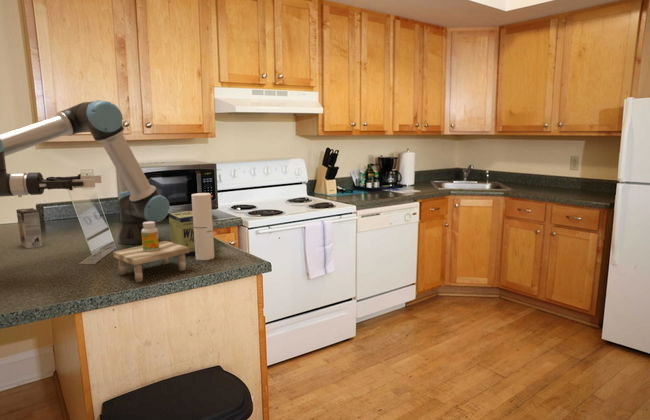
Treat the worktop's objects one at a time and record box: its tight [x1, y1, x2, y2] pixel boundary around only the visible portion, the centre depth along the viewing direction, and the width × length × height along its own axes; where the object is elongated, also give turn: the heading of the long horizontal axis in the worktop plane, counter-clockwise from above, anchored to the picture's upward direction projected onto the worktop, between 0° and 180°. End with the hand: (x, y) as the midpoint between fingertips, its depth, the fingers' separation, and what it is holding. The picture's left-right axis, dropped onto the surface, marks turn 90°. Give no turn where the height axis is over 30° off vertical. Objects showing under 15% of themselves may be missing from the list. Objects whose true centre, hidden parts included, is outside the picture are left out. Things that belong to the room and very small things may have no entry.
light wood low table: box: [112, 240, 189, 283], centre depth 159 cm, size 16×20×8 cm
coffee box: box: [16, 207, 44, 249], centre depth 198 cm, size 9×6×16 cm
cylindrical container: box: [191, 192, 215, 261], centre depth 174 cm, size 7×7×25 cm
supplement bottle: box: [141, 221, 160, 251], centre depth 158 cm, size 5×5×10 cm
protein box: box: [168, 210, 195, 257], centre depth 186 cm, size 10×16×16 cm
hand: (98, 180), depth 158 cm, fingers open, 13 cm apart
